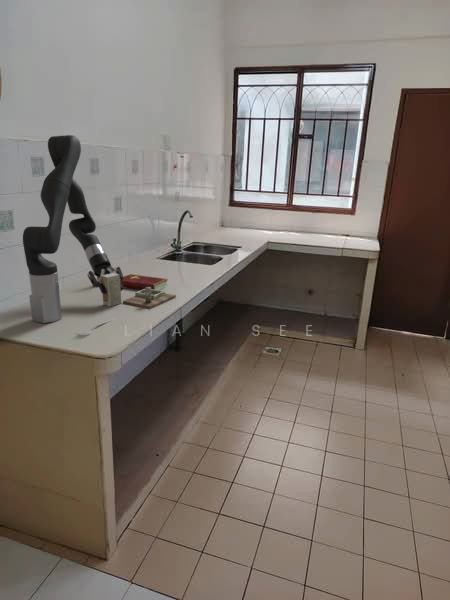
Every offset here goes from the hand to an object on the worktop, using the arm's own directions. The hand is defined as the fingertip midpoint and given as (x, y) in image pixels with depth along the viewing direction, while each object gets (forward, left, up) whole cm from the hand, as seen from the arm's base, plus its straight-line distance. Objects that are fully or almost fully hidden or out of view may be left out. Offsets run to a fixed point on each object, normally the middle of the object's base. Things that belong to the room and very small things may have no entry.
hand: (113, 291), depth 169 cm
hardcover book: (+28, +8, -6) cm, 30 cm away
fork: (-21, -11, -6) cm, 24 cm away
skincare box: (+1, +2, -6) cm, 6 cm away
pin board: (+12, -8, -6) cm, 16 cm away
